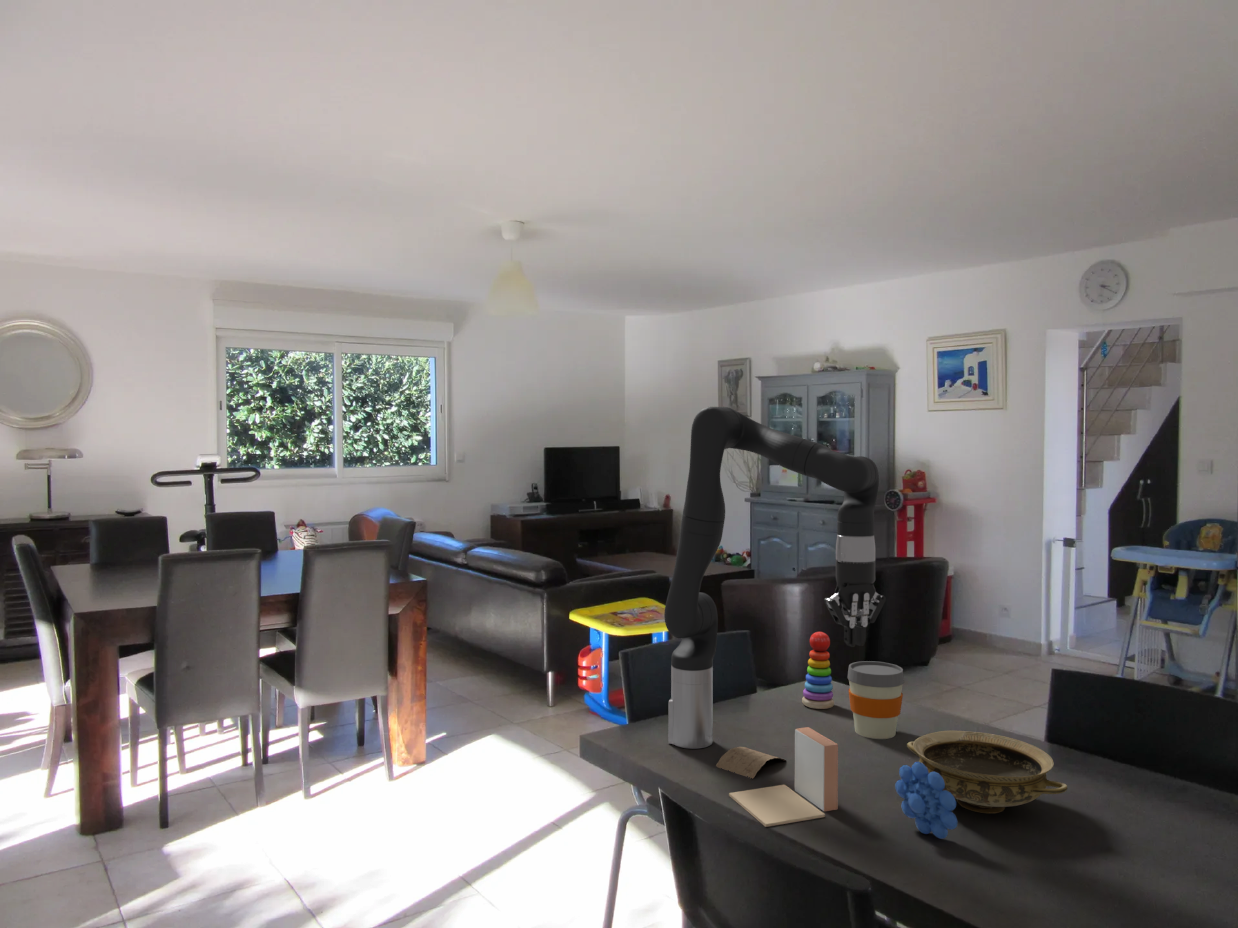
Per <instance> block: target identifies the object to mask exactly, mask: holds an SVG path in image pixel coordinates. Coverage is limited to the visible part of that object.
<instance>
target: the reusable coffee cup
mask: <svg viewBox="0 0 1238 928" xmlns="http://www.w3.org/2000/svg"><path fill="white" fill-rule="evenodd" d="M847 679H848V682H849V688H848V698H849V699H848V700H849V706H850V711H851V712H852V714H853V715H852V716H853V724H854V731H855V733H856V734H857V735H859V736H861V737H863V738H868V739H873V740H886V739H891V738H894V737H895V736H896V732H897V726H898V725H897V724H898V719H899V716H900V715H901V710H902V703H903V697H904V694H903V693H902V692H903V691H902V689H903V685H904V683H905V678H904V669H903V667H901V666H899V665H897V664H893V663H889V662H884V661H872V660H871V661H870V660H869V661H868V660H866V661H864V660H863V661H862V660H861V661H856V662H852V663H850V664H849V665H848V671H847Z"/></svg>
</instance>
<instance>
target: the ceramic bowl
mask: <svg viewBox="0 0 1238 928" xmlns="http://www.w3.org/2000/svg"><path fill="white" fill-rule="evenodd" d="M906 747H907V748H908V750H910V751H911V752H912V753H913V754H915V755H916V756H917V757H919V760H918V762H921V763H923V764H924V765H925V766H926V767H927V769H928V772H929V773H930V772H934V771H935V772H937V773H939V774H940V775H941V776H942V778H943V780H944V783H945V787H944V789H943V790H942V791H944V790H946V791H949V792H950V793H951V794H952V795H953V796H954V797H955V800H956V803H958V804H959V805H960V806H961V807H962V808H965V809H967V810H968V811H972V812H976V813H980V814H981V813H982V814H999V813H1001V812H1004V810H1005V809H1006V808H1007V807H1016V806H1017V807H1018V806H1020V805H1024V804H1029V803H1030V802H1031V803H1032V802H1033V801H1034V800H1036V799H1038V798H1039V797H1040V796H1042V795H1043V794H1044V795H1059V794H1062V793H1065V792H1067V790H1068V785H1067V784H1066V783H1064V782H1060V781H1055V780H1049V779H1048V777H1047V773H1049V772H1050V771H1051V770H1052V769H1053V768H1054V764H1055V763H1054V760H1053V758H1052V756H1051V755H1050V754H1048V753H1047V752H1045V751H1044V750H1043V749H1041V748H1039V747H1038V746H1035V745H1033V744H1030V743H1027V742H1025V741H1023V740H1019V739H1016V738H1012V737H1008V736H1004V735H999V734H993V733H988V732H979V731H966V730H965V731H964V730H941V731H935V732H929V733H927V734H923V735H921V736H920V737H918V738H916V739H915V740H914V741H909V742H908V743H906ZM1047 787H1052V788H1047Z"/></svg>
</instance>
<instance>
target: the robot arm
mask: <svg viewBox="0 0 1238 928" xmlns="http://www.w3.org/2000/svg"><path fill="white" fill-rule="evenodd" d="M690 431H691V432H690V450H689V451H690V452H689V453H690V454H689V468H688V470H689V471H688V477H687V484H686V489H685V490H686V491H685V498H684V505H683V510H682V514H681V522H680V531H679V537H678V538H679V539H678V547H677V552H676V556H675V557H676V558H675V564H674V570H673V574H672V579H671V582H670V585H669V590H668V594H667V597H666V602H665V606H664V623H665V627H666V629H667V631H668V632H669V634H670V635H671V636H672V637H674V638H676V639H677V638H678V639H681V641H680V643H678V645H677V647H676V648H675V649H674V650H673V652H672V653H671V658H670V660H671V662H670V663H671V667H670V670H671V671H670V672H671V673H670V674H671V675H670V678H671V680H670V683H671V684H670V685H671V686H670V687H671V688H670V690H671V691H670V693H671V694H670V695H671V697H670V699H669V700H668V711H667V712H668V715H667V717H668V718H667V719H668V726H667V727H668V729H667V731H668V733H667V734H668V742H667V743H668V744H672V745H675V746H676V747H679V748H684V749H691V750H692V749H693V750H695V749H696V750H697V749H703V748H707V747H710V746H711V745H712V744H713V737H714V736H713V735H714V733H713V728H714V727H713V724H714V723H713V722H714V721H713V717H714V716H713V714H714V712H713V711H714V710H713V709H714V707H713V697H714V695H713V694H714V693H713V692H714V691H713V687H714V686H713V682H714V681H713V671H714V668H713V667H714V666H713V665H714V664H713V662H714V661H713V660H714V658H715V655H716V653H717V647H718V646H717V644H718V623H719V618H718V617H719V616H718V610H717V605H716V603H715V602H714V599H713V598H712V597H711V596H710V595H709V594H707V593H706V592H700V591H701V586H702V581H703V579H704V576H705V573H706V571H707V569H708V567H709V565H710V564H711V562H712V561H713V558H714V557H715V556H716V553H717V551H718V550H719V547H720V544H721V542H722V538H723V533H724V526H725V521H726V504H725V498H724V492H723V489H722V484H721V470H722V469H721V468H722V464H723V456H724V452H725V450H728V449H734V450H735V449H736V450H740V451H741V450H742V451H746V452H750V453H755V454H757V455H759V456H762V457H764V458H766V459H768V460H769V461H771V462H772V463H774V464H776V465H778V466H780V467H782V468H784V469H787V470H789V471H792V472H793V473H794V472H795V473H796V474H800V475H803V476H805V477H809V478H812V479H816V480H818V481H819V482H822V483H823V484H826V485H827V486H829V487H831V488H833V489H836V490H839V491H841V492H844V493H843V502H842V504H841V505H840V506H839V508H838V511H837V516H836V518H837V521H836V522H837V525H836V528H837V530H836V531H837V532H836V541H835V581H836V588H834V589H835V590H834V594H833V595H831V596H830V597H825V598H824V599H823V602H824V605H825V606H826V608H827V610H828V611H829V613H830V615H831V617H832V619H833V621H834V622H835V623H836V624H837V625H841V626H842V627H843V640H844V641H843V642H844V643H845V644H846V646H847V647H851V648H855V647H856V646H858V647H864V646H865V643H866V641H867V627H868V625H870V624H874V623H875V622H876V620H877V618H878V616H879V614H880V612H881V611H882V608H883V607H884V605H885V603H886V601H887V597H886V596H885V595H881V594H879V593H878V592H877V591H876V588H875V585H874V583H875V581H876V543H875V542H876V541H875V513H874V512H875V509H876V508H875V507H876V504H877V500H878V498H877V497H878V493H879V486H880V485H879V484H880V476H879V475H880V474H879V473H880V472H879V469H878V466H877V465H876V463H875V462H874V461H873V459H871V458H869V457H866V456H863V455H862V456H851V455H848V454H843V453H840V452H837V451H835V450H832V449H831V448H830V447H828V446H826V445H825V444H821V443H818V442H816V441H812V440H810V439H807V438H803V437H801V436H798V435H794V434H790V433H788V432H783V431H780V430H777V429H774V428H772V427H768V426H766V425H764V424H762V423H760V422H758V421H756V420H755V419H752V418H750V417H748V416H746V415H744V414H742V413H741V412H739V411H737V410H735V409H733V408H731V407H727V406H707V407H703V408H701V410H699V411H698V412H697V414H696V415H695V416H694V418H693V421H692V425H691V429H690ZM840 605H841V608H840Z"/></svg>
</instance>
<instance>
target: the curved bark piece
mask: <svg viewBox="0 0 1238 928" xmlns="http://www.w3.org/2000/svg"><path fill="white" fill-rule="evenodd" d="M774 759H778V760H781V761H784V762H787V759H786V760H785V759H784V758H780V757H778V756H774V755H771V754H767V753H765V752H761V751H758V750H755V749H751V748H748V747H746V746H738V747H737V746H735V747H733V748H730V749H728V751H727V750H726V752H725V753H724V754H722V755H721V757H720V758H719V760H718V761H717V763H716V765H715V767H717V768H719V769H721V768H722V769H723V770H724V771H728V770H729V772H731V773H734V772H735V773H734V774H737V775H739V776H740V775H741V776H743V777H747V776H748V777H747V778H749V777H750V778H749V779H751V778H752V779H754V778H755V776H756V775H757V773H758V772H759V771H760V770H761V769H762V767H764V765H765V764H766V762H767V761H770V760H774ZM752 779H751V780H752Z"/></svg>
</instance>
